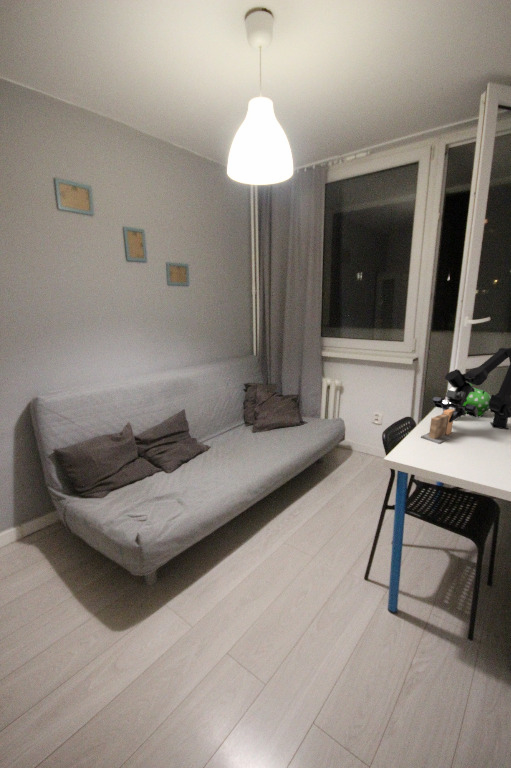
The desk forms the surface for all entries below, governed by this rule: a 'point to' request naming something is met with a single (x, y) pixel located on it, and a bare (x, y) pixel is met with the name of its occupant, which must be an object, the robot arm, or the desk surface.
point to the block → (449, 425)
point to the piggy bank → (478, 400)
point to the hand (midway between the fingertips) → (446, 421)
